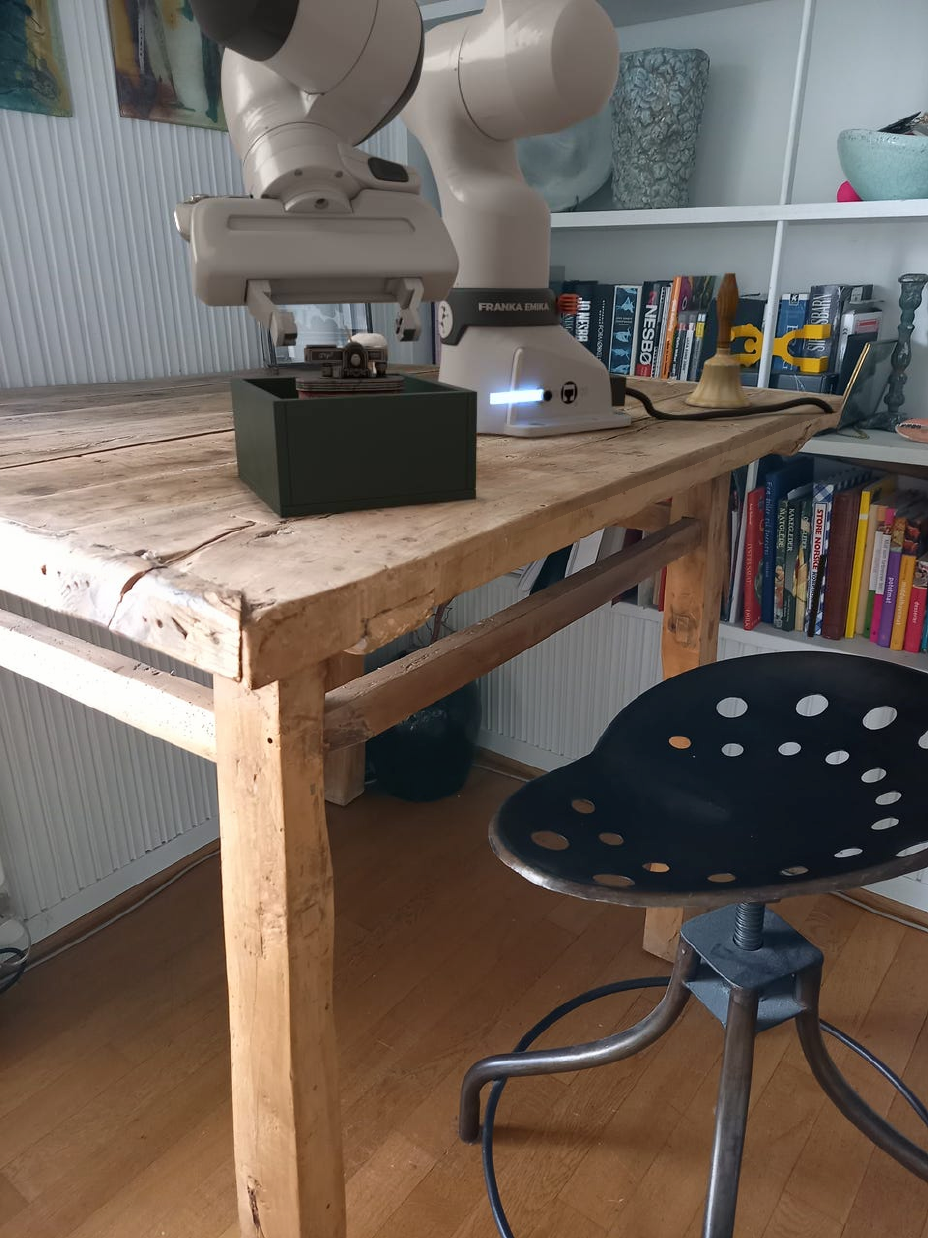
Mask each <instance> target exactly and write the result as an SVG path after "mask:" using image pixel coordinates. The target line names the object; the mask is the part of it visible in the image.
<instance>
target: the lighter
mask: <svg viewBox="0 0 928 1238" xmlns="http://www.w3.org/2000/svg"><path fill="white" fill-rule="evenodd" d="M303 360H304V363H306V364H312V363H313V364H318V363H319V364H321V363H322V366H321V375H322V376H312V375H309V376H310V377H298V378H296V389H297V390H299V398H318V397H340V396H361V395H383V394H402V389H403V388H404V377H402V376H386V373H387V372H386V370H387V369H388V362H389V349H388V346H387V347H363V346H362V345H361V344H360V343H358V342H349V343H348V342H347V343H346V345H345V347H337V344H334V343H333V344H331V343H330V344H329V343H327V344H306V345H305V347H303ZM368 362H374V364H375V369H376V375H372V370H371V369H370V368H369V364H368ZM332 363H333V364H335V363H341V367H340V368H338V375H339V376H333V375H334V366H333V365H332Z"/></svg>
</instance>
